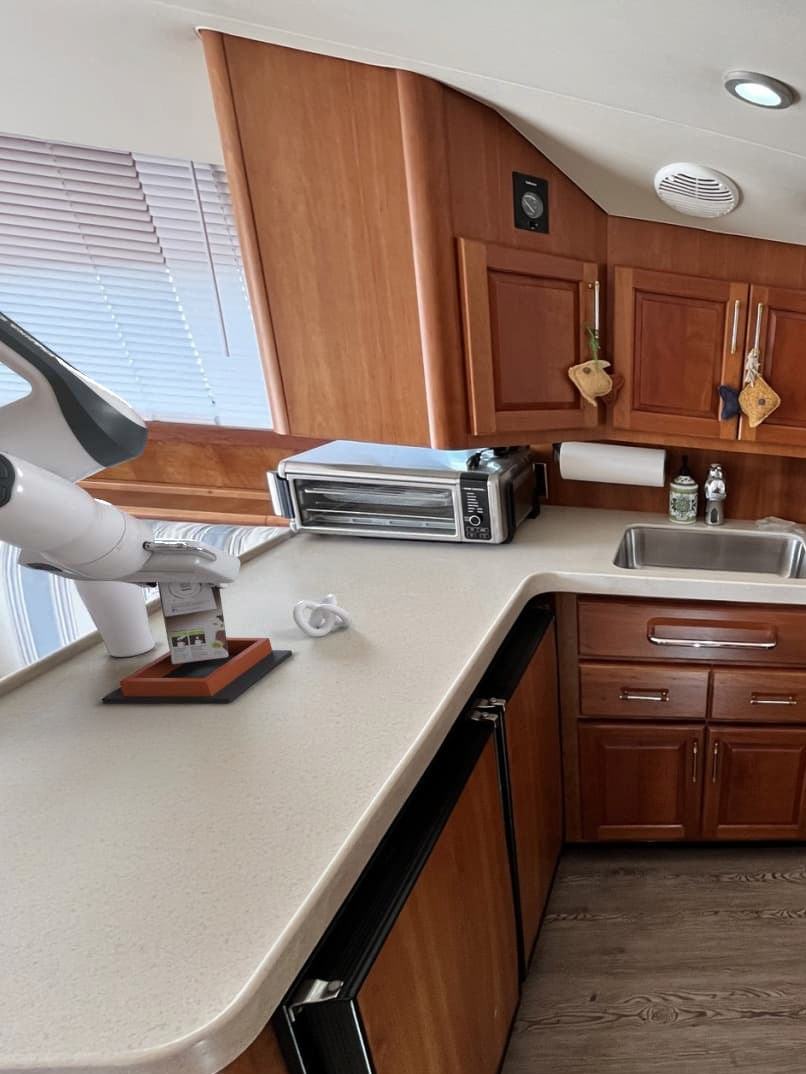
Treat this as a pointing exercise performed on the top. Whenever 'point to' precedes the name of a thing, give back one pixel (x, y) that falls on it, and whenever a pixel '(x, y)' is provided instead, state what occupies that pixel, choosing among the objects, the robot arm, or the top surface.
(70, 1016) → the top surface
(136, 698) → the dock pad
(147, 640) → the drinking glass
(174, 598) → the coffee box
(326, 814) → the top surface
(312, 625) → the knot
